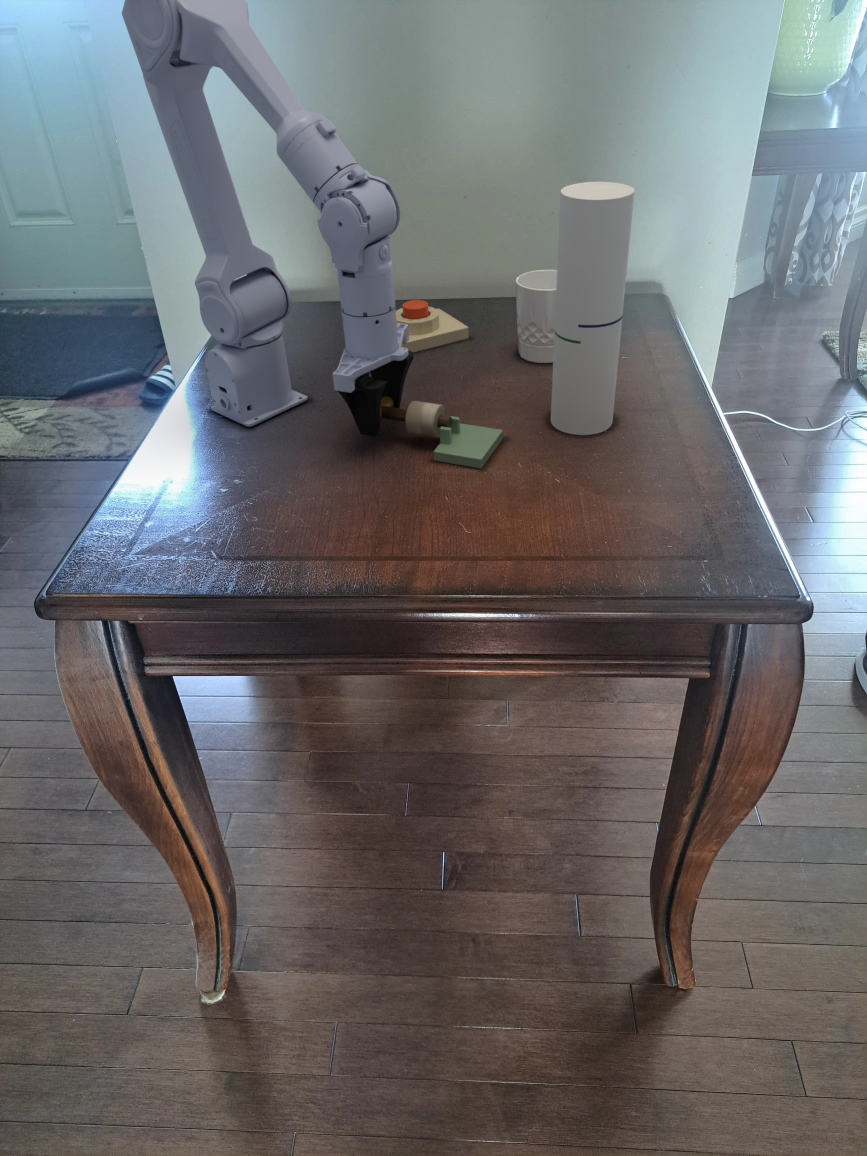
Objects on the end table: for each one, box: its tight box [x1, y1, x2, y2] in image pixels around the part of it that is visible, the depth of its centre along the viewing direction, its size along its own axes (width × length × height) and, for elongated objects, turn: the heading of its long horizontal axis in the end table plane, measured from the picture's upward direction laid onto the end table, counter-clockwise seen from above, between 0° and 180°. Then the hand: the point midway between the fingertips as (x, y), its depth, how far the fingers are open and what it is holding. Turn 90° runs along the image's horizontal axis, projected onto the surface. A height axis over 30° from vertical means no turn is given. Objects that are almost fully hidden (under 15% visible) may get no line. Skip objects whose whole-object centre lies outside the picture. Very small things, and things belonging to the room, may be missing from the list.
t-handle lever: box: [380, 396, 452, 438], centre depth 93 cm, size 10×5×4 cm, turn 67°
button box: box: [396, 306, 470, 353], centre depth 118 cm, size 12×9×4 cm
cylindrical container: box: [550, 181, 635, 436], centre depth 89 cm, size 7×7×25 cm
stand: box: [433, 415, 504, 470], centre depth 92 cm, size 6×7×3 cm
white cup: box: [515, 269, 557, 364], centre depth 109 cm, size 8×8×10 cm
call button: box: [401, 299, 429, 320], centre depth 117 cm, size 4×4×2 cm
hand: (379, 424), depth 95 cm, fingers closed on t-handle lever, 5 cm apart
